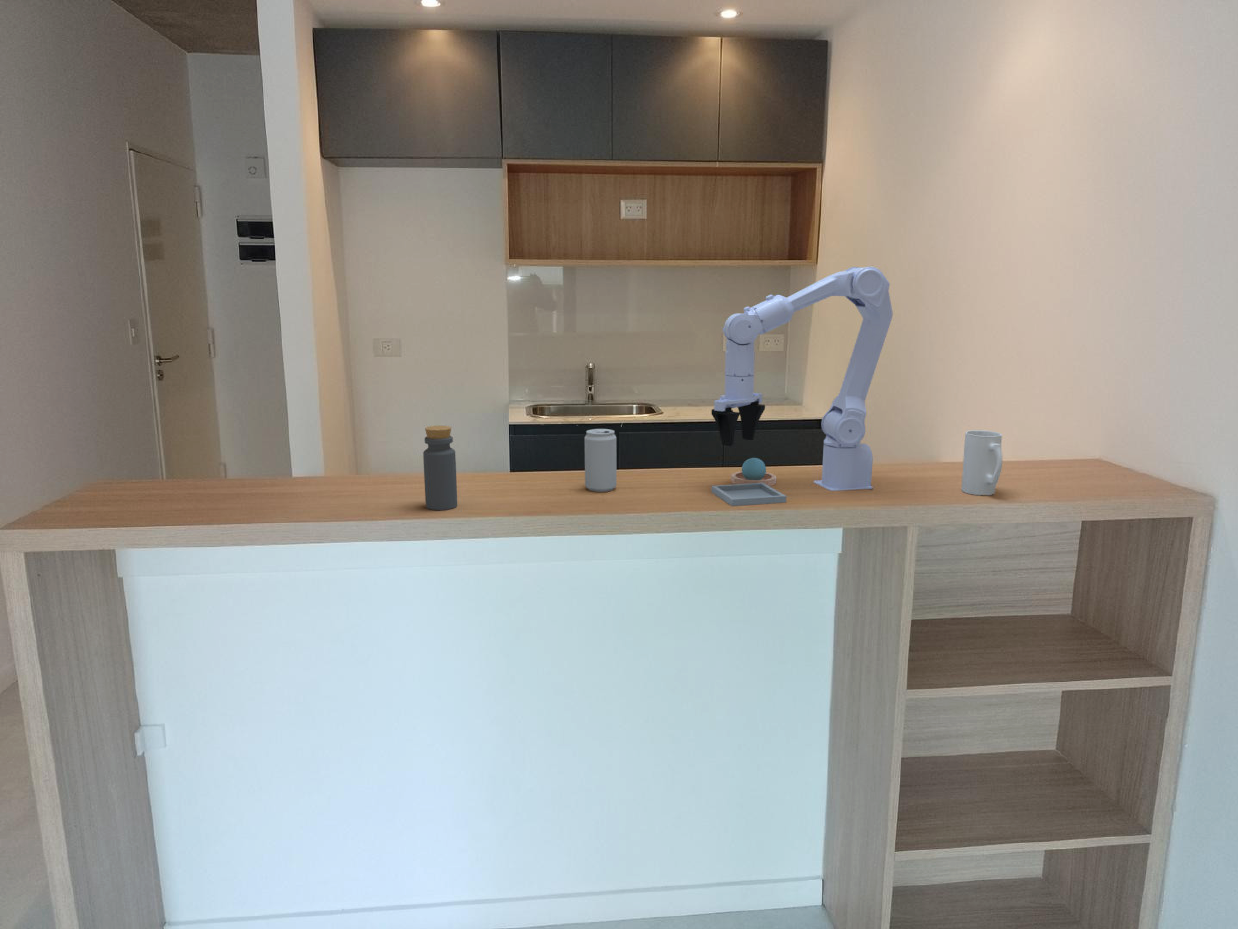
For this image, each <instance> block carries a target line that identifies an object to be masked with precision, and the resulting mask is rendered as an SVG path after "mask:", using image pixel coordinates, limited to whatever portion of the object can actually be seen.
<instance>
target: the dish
mask: <svg viewBox="0 0 1238 929" xmlns="http://www.w3.org/2000/svg"><path fill="white" fill-rule="evenodd" d="M730 482H731V483H732V484H750V483H764V484H766V485H768V486H770V487H773V486H774V485H776V483H777V476H776V475H775V474H774V473H771V472H767V471H766V473H765V476H764V477H763V478H762V479H761V480H747V479H745V477H744V476H743V474H742V470H740V471H736V472H732V473H731V476H730Z"/></svg>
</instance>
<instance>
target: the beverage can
mask: <svg viewBox="0 0 1238 929" xmlns="http://www.w3.org/2000/svg"><path fill="white" fill-rule="evenodd" d="M585 432H586V435H585V436H584V486H585V488H587V489H588V491H589V492H597V493H602V492H603V493H604V492H605V493H606V492H611V491H613V490H614V489H615V488H616V487H617V436H616V434H615V430H613V429H608V428H594V429H593V428H592V429H587V430H586V431H585Z"/></svg>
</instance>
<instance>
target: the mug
mask: <svg viewBox="0 0 1238 929" xmlns="http://www.w3.org/2000/svg"><path fill="white" fill-rule="evenodd" d="M964 434H965V435H964V445H963V446H964V448H963V461H962V462H963V464H962V476H961V478H962V479H961V491H962V493H965V494H968V495H974V496H981V495H987V496H993V495H994V494H995V493H996V486H997V484H998V482H999V479H1000V476H1001V473H1002V468H1003V453H1002V452H1003V451H1002V439H1003V434H1002V433H1000V432H998V431H992V430H981V429H980V430H978V429H977V430H976V429H973V430H967V431H965V433H964ZM992 494H993V495H992Z"/></svg>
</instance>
